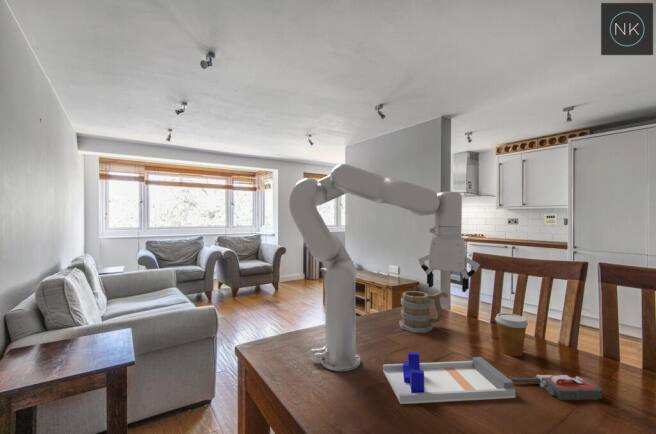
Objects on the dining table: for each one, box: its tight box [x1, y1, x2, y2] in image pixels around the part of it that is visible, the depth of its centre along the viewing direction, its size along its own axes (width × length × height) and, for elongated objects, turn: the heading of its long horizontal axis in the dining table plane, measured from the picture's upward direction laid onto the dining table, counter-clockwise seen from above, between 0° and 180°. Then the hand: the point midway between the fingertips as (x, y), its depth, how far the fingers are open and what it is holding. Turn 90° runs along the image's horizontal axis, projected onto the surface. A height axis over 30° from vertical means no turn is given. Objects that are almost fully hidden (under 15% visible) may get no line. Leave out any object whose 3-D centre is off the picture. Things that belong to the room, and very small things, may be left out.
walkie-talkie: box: [510, 374, 602, 401], centre depth 78 cm, size 9×4×20 cm
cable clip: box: [402, 351, 424, 393], centre depth 81 cm, size 12×4×6 cm, turn 169°
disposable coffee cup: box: [494, 312, 529, 357], centre depth 101 cm, size 10×10×12 cm
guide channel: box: [382, 356, 516, 405], centre depth 81 cm, size 30×16×4 cm, turn 95°
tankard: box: [398, 290, 449, 334], centre depth 124 cm, size 20×13×15 cm, turn 88°
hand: (447, 288), depth 89 cm, fingers open, 9 cm apart
